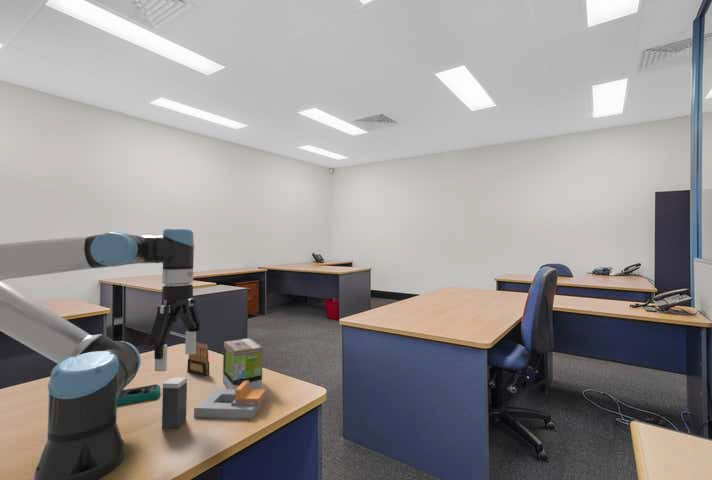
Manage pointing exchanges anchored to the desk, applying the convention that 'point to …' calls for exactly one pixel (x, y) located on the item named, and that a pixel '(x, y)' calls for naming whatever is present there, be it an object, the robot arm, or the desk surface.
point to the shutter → (248, 393)
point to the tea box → (242, 363)
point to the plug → (174, 403)
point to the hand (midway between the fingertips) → (176, 362)
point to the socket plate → (226, 406)
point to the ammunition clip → (199, 361)
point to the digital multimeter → (138, 394)
